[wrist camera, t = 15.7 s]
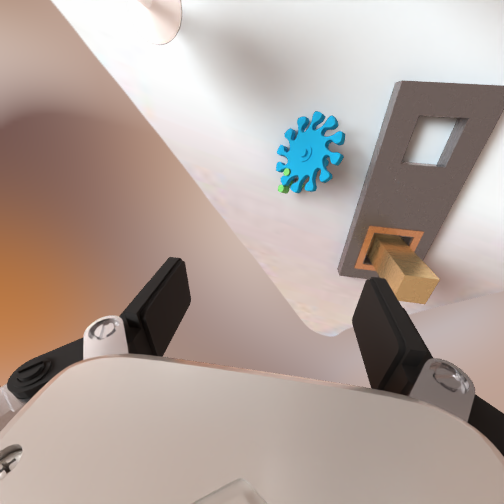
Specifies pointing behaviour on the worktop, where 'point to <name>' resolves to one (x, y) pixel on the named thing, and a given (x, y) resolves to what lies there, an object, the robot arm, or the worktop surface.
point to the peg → (401, 268)
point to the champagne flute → (156, 19)
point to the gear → (309, 154)
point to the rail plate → (418, 168)
